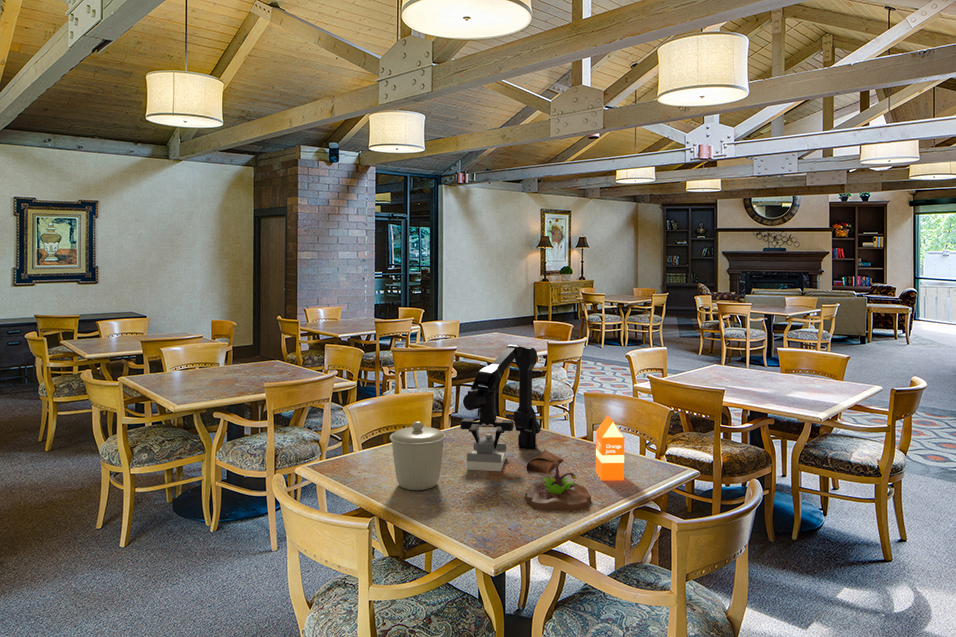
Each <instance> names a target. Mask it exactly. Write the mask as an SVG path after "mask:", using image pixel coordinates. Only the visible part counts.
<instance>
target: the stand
mask: <svg viewBox="0 0 956 637" xmlns="http://www.w3.org/2000/svg"><path fill="white" fill-rule="evenodd" d="M506 459H507V442H498V443H497V449H496V450H495V452H494V454H479V453H477V443H476V441H473V450H472V452H467V453H466V470H468V471H469V470H470V471H485V472H487V471H488V472H502V469H503V467H504V464H505V461H506Z"/></svg>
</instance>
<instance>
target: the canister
mask: <svg viewBox="0 0 956 637" xmlns="http://www.w3.org/2000/svg"><path fill="white" fill-rule="evenodd" d="M446 437H447V435H446V434H445V432H443V431H442V430H440V429H437V428H436V427H435V428H434V427H430V426H424V424H423V422H421V421H417V420H416V421H414V422H413V423H412V425H411V426H408V427H403V428H400V429H397V430H396V431H394V432H392V433H391V434H390V435H389V440H390V441H391V447H392V456H393V464H394V468H395V470H394V472H395V476H396V477H395V478H396V481H397V483H398V485H399V486H400V487H401V488H403V489H405V490H409V491H423V490H424V491H425V490H429V489H432V488H433V487H435V486H436V485H437V484H438V482H439V480H440V476H441V468H442V462H443V461H442V460H443V450H444V440H445V439H446Z"/></svg>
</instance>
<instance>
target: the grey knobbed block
mask: <svg viewBox="0 0 956 637" xmlns="http://www.w3.org/2000/svg"><path fill="white" fill-rule="evenodd" d="M479 439H480V440H479V442H478V443H477V453H479V454H494V452H495V450H496V449H497V446H496V449H495V436H493V433H486V434H485V435H484V436H483V435H482V436H481V438H479Z"/></svg>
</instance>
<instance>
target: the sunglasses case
mask: <svg viewBox="0 0 956 637" xmlns="http://www.w3.org/2000/svg"><path fill="white" fill-rule="evenodd" d="M563 461H564V459H563V458H561V457H560V456H558V455H556V454H554V453H552V452H550V451H549V450H547V448H544V450H542V451H541V452H540V453H539V454H537V455H536V456H534V457H533V458H532V459H531V460H529V462H527V464H526V471H527V472H534V473H540V474H550V472H551V471H552V470H553V469H554V468H556V466H555V463H556V462H559V464H560V463H561V462H563Z"/></svg>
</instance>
